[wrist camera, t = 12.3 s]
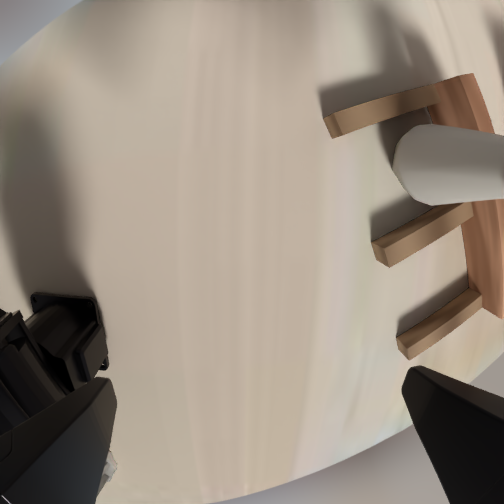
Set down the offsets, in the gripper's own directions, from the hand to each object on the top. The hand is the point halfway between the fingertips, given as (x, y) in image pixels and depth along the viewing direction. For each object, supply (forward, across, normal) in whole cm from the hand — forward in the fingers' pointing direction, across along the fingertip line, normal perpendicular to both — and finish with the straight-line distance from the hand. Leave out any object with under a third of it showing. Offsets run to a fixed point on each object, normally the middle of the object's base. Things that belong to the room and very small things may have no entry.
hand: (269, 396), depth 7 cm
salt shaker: (+13, -13, -8) cm, 20 cm away
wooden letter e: (+13, -15, -4) cm, 20 cm away
